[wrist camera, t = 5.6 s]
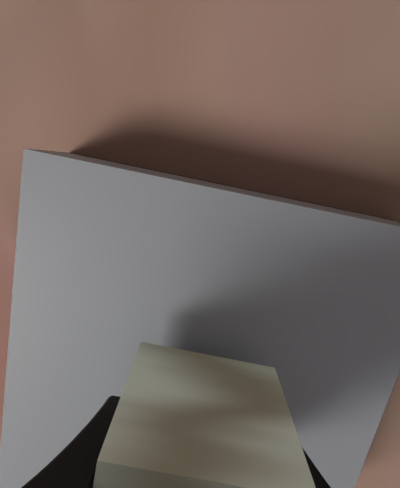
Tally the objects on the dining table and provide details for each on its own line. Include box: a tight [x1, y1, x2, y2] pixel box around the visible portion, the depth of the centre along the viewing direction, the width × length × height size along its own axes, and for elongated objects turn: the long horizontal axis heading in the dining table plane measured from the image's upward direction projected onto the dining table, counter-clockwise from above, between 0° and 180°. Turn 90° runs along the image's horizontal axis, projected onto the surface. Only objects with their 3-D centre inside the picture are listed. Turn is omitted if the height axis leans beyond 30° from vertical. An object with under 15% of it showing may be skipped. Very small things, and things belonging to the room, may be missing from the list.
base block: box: [0, 149, 400, 488], centre depth 16 cm, size 16×16×4 cm
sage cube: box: [93, 342, 316, 488], centre depth 10 cm, size 5×5×5 cm
